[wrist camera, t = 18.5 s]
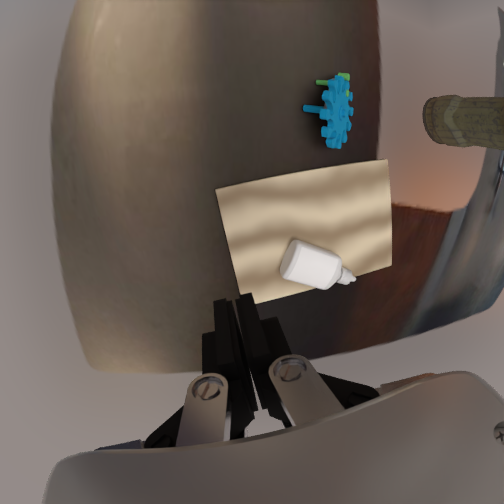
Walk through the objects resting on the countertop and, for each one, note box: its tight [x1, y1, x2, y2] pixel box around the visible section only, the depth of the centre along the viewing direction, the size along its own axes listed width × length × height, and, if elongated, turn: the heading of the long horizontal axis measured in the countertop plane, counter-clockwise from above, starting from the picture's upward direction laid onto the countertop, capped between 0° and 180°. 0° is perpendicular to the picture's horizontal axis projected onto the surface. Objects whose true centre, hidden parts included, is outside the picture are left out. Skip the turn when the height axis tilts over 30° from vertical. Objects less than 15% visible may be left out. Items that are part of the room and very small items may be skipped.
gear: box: [303, 73, 353, 149], centre depth 32 cm, size 11×6×10 cm
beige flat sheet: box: [215, 159, 392, 304], centre depth 40 cm, size 18×26×1 cm
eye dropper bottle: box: [280, 240, 356, 290], centre depth 40 cm, size 4×6×12 cm
